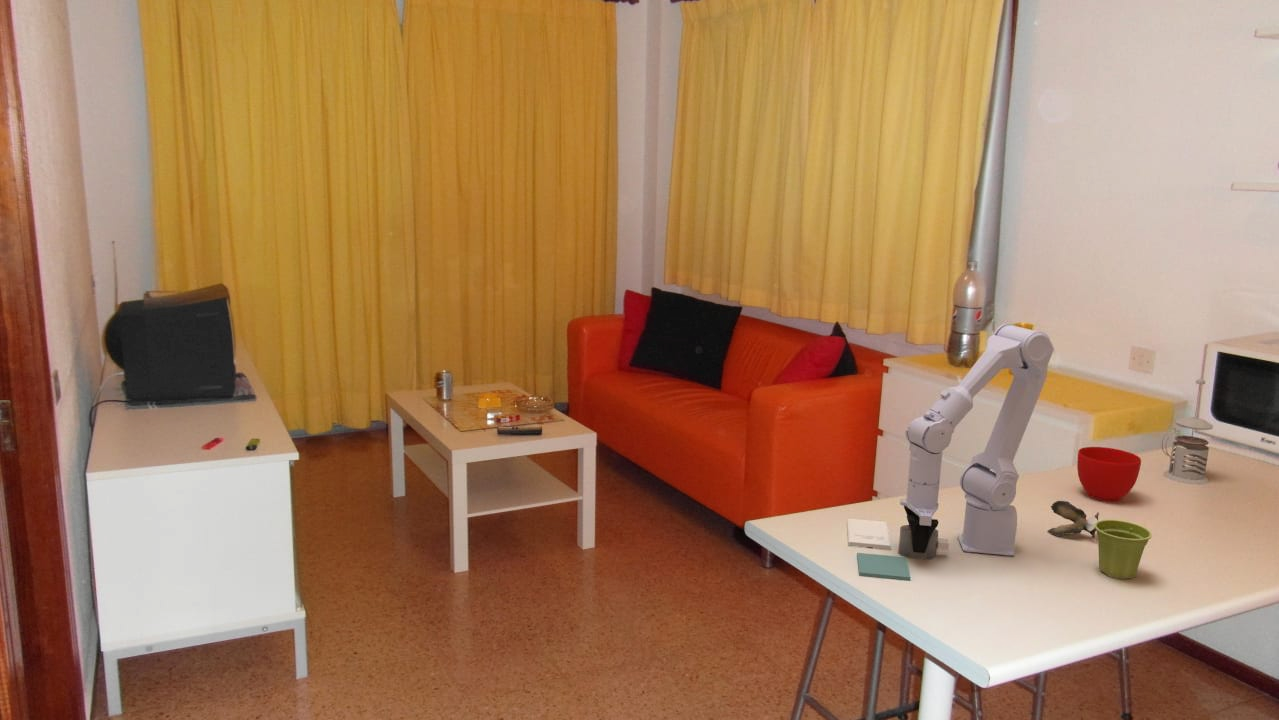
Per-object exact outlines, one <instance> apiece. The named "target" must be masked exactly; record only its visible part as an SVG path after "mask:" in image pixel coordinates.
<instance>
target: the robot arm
mask: <svg viewBox="0 0 1279 720" xmlns="http://www.w3.org/2000/svg"><path fill="white" fill-rule="evenodd" d="M1054 350H1055V348H1054V346H1053V342H1052V340H1051V339H1050V337H1049V336H1048V334H1047V333H1045V332H1044V331H1039V330H1034V329H1033V330H1032V329H1029V328H1025V327H1021V326H1017V325H1014V324H1012V323H1003V324H1001V325H999V326H998V327H997V328H996V330H995V331H994V332H993V334H992V335H991V336H989V337H988V338H987V342H986V349H985V350H984V351H983V353H982V354H981V355H980V356H979V358H978V359H977V361H976V362H975V363H974V365H973V366H971V368H970V370H969V371H968V372H967V373H966V375H965V376H964V378H963V379H962V380H961V381H960V383H959V384H958V385H957V386H949V387H947V388H946V389H944V390H942V392H940V394H939V395H940V397H938V398H937V400H936V401H935V402H934V403H933V404H932V405H931V406H930V408H929V409H928V410H926V411H925V412H924V414H923V416H918V417H916V418H914V419H913V420H912V421H911V422H910V423H909V424H908V427H907V429H906V430H905V432H904V433H905V438H906V440H907V441H908V443H909V448H908V449H909V451H910V453H909V454H910V455H909V456H910V457H909V465H908V466H909V467H908V477H907V488H906V489H907V490H906V498H900V499H899V504H900V506H902V507H903V509H904V510H905V513H906V519H907V522H908V525H910V528H911V534H912V546H913V551H914V552H917V553H925V551H926V549H927V546H928V543H929V540H930V537H931V535H932V533H933V531H934V530H935V529H936V528H937V527H938V525H939V519H935V518H933V516H934V515H935V513H936V512H937V510H938V509H939V492H940V491H939V490H940V481H941V471H942V469H941V468H942V461H943V452H944V450H945V449H947V448H948V447H949V446H950V444H951V441H952V435H953V434H954V433H955V429H956V427H957V426H958V425H959V424H960V423H961V421H962V420H963V419H964V418H965V417H966V416H967V415H968V413H969V412H970V411H971V410H972V409H973V407H974V397H975V396H977V394H978V393H980V391H981V390H982V389H983V388H984V387H986V386H987V384H988V383H989V382H990V381H992V380H993V379H994V378H995V376H997V374H999V373H1000V372H1001V371H1002V370H1005V369H1009V370H1010V371H1011V373H1012V376H1013V379H1012V381H1011V383H1010V386H1009V388H1008V391H1007V393H1006V396H1005V398H1004V401H1003V402H1002V403H1003V404H1002V406H1001V409H1000V411H999V412H998V413H999V414H998V415H997V416H998V417H997V419H996V421H995V423H994V426H993V428H992V431H991V433H990V436H989V438H988V441H987V443H986V446H985V448H984V451H982V452H980V453H978V454H975V455H973V456H972V458H971V460H970V463H969V464H968V466H966V468H965V469H963V471H962V473H961V475H960V478H959V486H960V488H961V490H962V491H963V492H964V499H966V502H965V508H964V509H965V510H964V521H963V523H964V524H963V531H962V534H961V533H959V534H957V538H958V540H959V541H958V542H959V543H960V546H961V548H962V551H963V552H967V553H968V552H969V553H978V554H979V553H980V554H991V555H992V554H993V555H1000V556H1001V555H1002V556H1012V557H1013V556H1015V544H1016V535H1017V526H1018V514H1017V513H1018V511H1017V508H1016V506H1014V505H1011V504H1012V502H1013V501H1014V500H1015V498H1016V496H1017V482H1018V480H1019V477H1020V476H1019V473H1018V470H1017V469H1016V467H1015V465H1014V459H1015V457H1016V454H1017V452H1018V449H1019V448H1020V445H1021V443H1022V440H1023V438H1024V434H1025V432H1026V430H1027V427H1028V425H1029V422H1030V419H1031V417H1032V414H1033V413H1034V411H1035V410H1034V409H1035V407H1036V405H1037V402H1038V400H1039V397H1040V395H1041V393H1042V390H1043V388H1044V385H1045V383H1046V379H1047V376H1048V365H1049V362H1050V360H1051V358H1052V355H1053V353H1054Z"/></svg>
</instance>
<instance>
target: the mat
mask: <svg viewBox="0 0 1279 720" xmlns="http://www.w3.org/2000/svg"><path fill="white" fill-rule="evenodd" d="M856 559H857V560H856V561H857V567H858V575H859V576H862V577H869V578H871V577H872V578H881V579H891V580H892V579H893V580H899V581H900V580H902V581H911V573H910V569H909V565H908V561H907V557H905V556H897V555H887V554H875V553H865V552H857V553H856Z"/></svg>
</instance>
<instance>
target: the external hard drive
mask: <svg viewBox="0 0 1279 720" xmlns="http://www.w3.org/2000/svg"><path fill="white" fill-rule="evenodd" d="M846 528H847V530H848V531H847V545H848V546H847V547H852V546H858V547H857V548H863V547H870V548H869V549H873V548H875V549H876V550H885V551H892V543H891V537H890V531H889V524H888V522H886V521H880V520H879V521H878V520H869V519H860V518H858V519H857V518H847V520H846Z"/></svg>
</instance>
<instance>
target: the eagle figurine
mask: <svg viewBox="0 0 1279 720" xmlns="http://www.w3.org/2000/svg"><path fill="white" fill-rule="evenodd" d="M1050 508H1051V510H1052V511H1053V513H1054V514H1055V515H1058V516H1060V517H1062V518H1063V519H1065V520H1068V521H1070V522H1073V523H1069V524H1061V525H1058V526H1056V527H1051V528H1050V529H1048V530H1047V533H1048V534H1050V535H1051V536H1052V535H1053V536H1063V535H1067V534H1068V535H1069V534H1070V535H1071V534H1073V535H1077V534H1081V533H1082V531H1084V532H1086V533H1089V534H1090V535H1091V538H1093V539H1094V540H1095V539H1096V533H1097V530H1096V529H1095V523H1096V522H1098V521H1099V515H1100V514H1099V513H1100V512H1099V511H1098V512H1096V514H1095V515H1094V516H1092V517H1090V518H1088V519H1087V514H1086V513H1085V511H1084V510H1083V509H1082V508H1077V507H1076V506H1075V505H1073V504H1072V503H1071V502H1069V501H1067V500H1056V501H1054V502H1053V503H1052V505H1050Z"/></svg>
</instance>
